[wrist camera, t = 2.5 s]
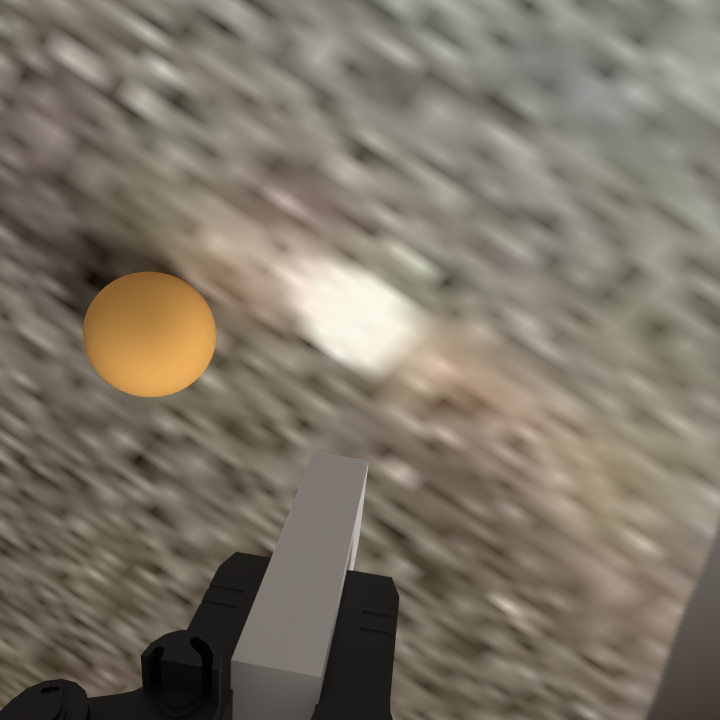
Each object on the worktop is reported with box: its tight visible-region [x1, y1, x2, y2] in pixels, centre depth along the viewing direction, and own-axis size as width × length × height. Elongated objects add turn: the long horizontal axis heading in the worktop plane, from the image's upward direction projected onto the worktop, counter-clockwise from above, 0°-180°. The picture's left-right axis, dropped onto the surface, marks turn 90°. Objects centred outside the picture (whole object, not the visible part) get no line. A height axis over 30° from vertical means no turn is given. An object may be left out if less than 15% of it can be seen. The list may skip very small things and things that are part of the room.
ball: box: [83, 272, 216, 397], centre depth 25 cm, size 6×6×6 cm
